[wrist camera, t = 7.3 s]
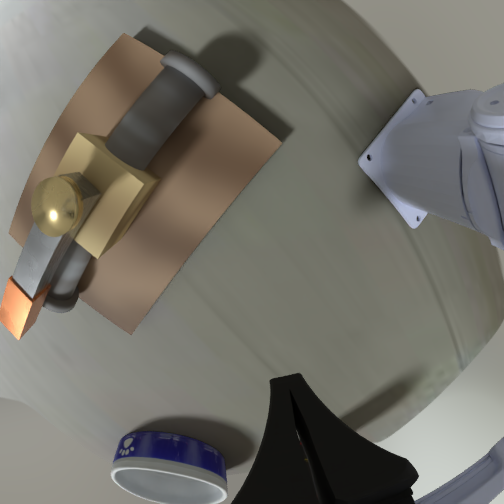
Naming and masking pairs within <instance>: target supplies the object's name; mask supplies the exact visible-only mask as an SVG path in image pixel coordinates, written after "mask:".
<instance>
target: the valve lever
mask: <svg viewBox="0 0 504 504" xmlns="http://www.w3.org/2000/svg"><path fill="white" fill-rule="evenodd" d="M101 194H102V193H101V192H100V191H99V190H98V189H97V188H96V187H95V186H94V185H92V184H91V183H90V182H89V181H88V180H87V179H86V178H85V177H84V176H83V175H82V174H81V173H80V172H75V173H68V174H62V175H59V176H56V177H50V178H46V179H44V180H43V181H41V182H40V183H39V184H38V185H37V187H36V189H35V190H34V193H33V196H32V202H31V210H32V216H33V219H34V221H35V222H34V224H33V226H32V228H31V231H30V233H29V235H28V238H27V240H26V242H25V245H24V247H23V250H22V252H21V255H20V257H19V260H18V263H17V266H16V268H15V271H14V274H13V276H11V277H10V278H9V279H8V283H7V286H6V289H5V293H4V296H3V300H2V304H1V308H0V321H1V322H2V323H3V324H4V326H5V327H6V328H7V329H8V330H9V331H10V332H11V333H12V334H13V335H14V336H15V337H16V338H17V339H18V340H20V339H21V338H22V336H23V335H24V334H25V333H26V332H27V331H28V330H29V329H30V327H31V326H32V325H33V324H34V323H35V321H36V319H37V317H38V314H39V312H40V310H41V307H42V305H43V303H44V301H45V298H46V296H47V294H48V292H49V290H50V288H51V285H50V284H49V283H50V281H51V279H52V277H53V275H54V273H55V271H56V269H57V267H58V265H59V264H60V262H61V260H62V258H63V256H64V254H65V252H66V251H67V249H68V247H69V245H70V243H71V242H72V240H73V238H74V236H75V235H76V233H77V231H78V230H79V228H80V226H81V225H82V223H83V222H84V220H85V218H86V217H87V215H88V214H89V212H90V211H91V209H92V207H93V206H94V204H95V203H96V201H97V200H98V198H99V197H100V196H101Z"/></svg>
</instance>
